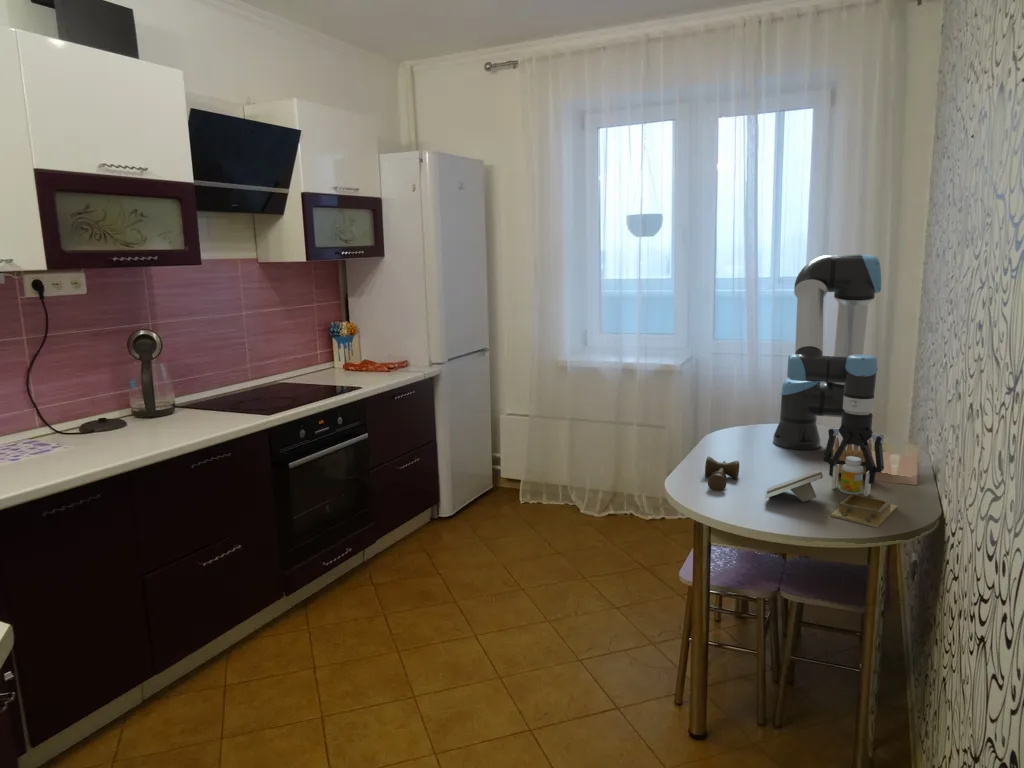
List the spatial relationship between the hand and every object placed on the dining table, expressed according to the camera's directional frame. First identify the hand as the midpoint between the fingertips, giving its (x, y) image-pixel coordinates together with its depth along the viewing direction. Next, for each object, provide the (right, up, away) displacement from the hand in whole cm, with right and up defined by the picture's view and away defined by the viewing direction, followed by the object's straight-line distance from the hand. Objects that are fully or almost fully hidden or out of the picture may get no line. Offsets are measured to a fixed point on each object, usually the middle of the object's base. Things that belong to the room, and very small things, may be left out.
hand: (850, 490), depth 194 cm
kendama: (-33, +1, +11) cm, 35 cm away
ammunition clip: (+6, +2, +12) cm, 14 cm away
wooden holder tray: (-4, -3, -15) cm, 15 cm away
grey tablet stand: (-19, -2, -5) cm, 19 cm away
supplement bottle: (0, -1, 0) cm, 1 cm away
